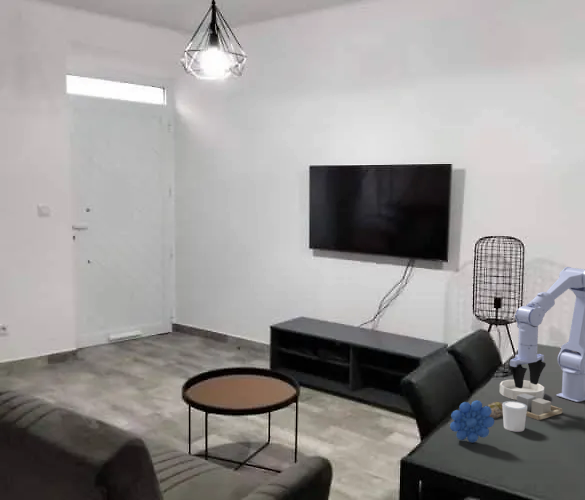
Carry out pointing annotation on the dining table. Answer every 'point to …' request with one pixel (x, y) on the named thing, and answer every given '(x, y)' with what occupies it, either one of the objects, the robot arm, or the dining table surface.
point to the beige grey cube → (540, 406)
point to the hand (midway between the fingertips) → (526, 385)
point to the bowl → (521, 389)
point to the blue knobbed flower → (471, 421)
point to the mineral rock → (496, 409)
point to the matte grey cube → (526, 400)
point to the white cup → (514, 415)
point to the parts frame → (545, 415)
